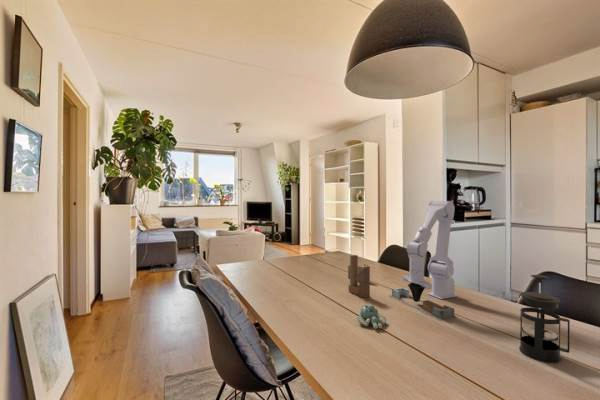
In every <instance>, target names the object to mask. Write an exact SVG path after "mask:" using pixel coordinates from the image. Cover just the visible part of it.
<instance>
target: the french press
mask: <svg viewBox="0 0 600 400" xmlns="http://www.w3.org/2000/svg"><path fill="white" fill-rule="evenodd" d="M530 277H531V278H533V279H537V283H538V292H537V291H535V292H534V291H523V292H520V296H521V297H522V298H523V301H524V303H525V304H526V305H528V306H530V307H522V308H520V324H519V325H520V330H519V331H520V336H519V337H520V338H519V339H520V344H519V345H520V346H519V347H518V348H519V352H521V353H522V354H523V355H524V356H526V357H528V358H530V359H532V360H534V361H538V362H542V363H547V364H558V363H560V362H561V361H562V357H561V352H564V353H570V338H571V337H570V331H571V330H570V319H569V318H566V317H565V318H564V317H561V316H560V315H559V314H557V313H555V312H553V311H550V310H556V309H559V303H561V299H560V298H558V297H556V296H554V295H552V294H547V293H542V291H541V288H542V287H541V286H542V285H541V284H542V283H543V280H549V279H550V277H548V276H546V275H542V274H531V275H530ZM527 313H535V314H536V316H534V315H533V316H532V315H530V314H527ZM545 316H549V317H552V318H553V319H549V318H548V319H547V318H545ZM523 318H524V319H526V320H529V321H531V322H534V325H525V326H523ZM561 322H565V323H567V348H563V347H561ZM545 325H554V326H555V325H558V334H557V333H556V332H554V331H552V330H550V329H547V328H545ZM523 334H525V335H523ZM556 341H558V343H556Z"/></svg>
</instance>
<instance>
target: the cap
mask: <svg viewBox="0 0 600 400" xmlns="http://www.w3.org/2000/svg"><path fill="white" fill-rule="evenodd" d="M391 295H392V296H394V297H396V298H398V299H400V298H401V296H404V297H406V298H410V297H409V295H410V289H408V288H406V287H403V286H402V287H398V288H391Z"/></svg>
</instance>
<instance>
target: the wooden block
mask: <svg viewBox="0 0 600 400" xmlns="http://www.w3.org/2000/svg"><path fill="white" fill-rule="evenodd" d="M349 257H350V258H349V259H350V260H349V262H350V263H349V265H350V279H349V280H350V281H349V283H350V284H348V292H349V293H351V294H354V295H356V296H358V297H362V298H363V299H365V298H370V295H371V294H370V293H371V289H370V287H371V286H370V283H371V282H370V281H371V277H370V276H371V275H370V274H371V271H370V270H371V269H370V268H371V267H370V265H368V266H367V267H364V266H363V267H364V268H363V269H362V270H361V271H360V272H359V274H358V266H359V261H358V260H359V257H358V254H350V255H349ZM358 280H359V281H358Z"/></svg>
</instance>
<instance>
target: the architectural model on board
mask: <svg viewBox="0 0 600 400" xmlns="http://www.w3.org/2000/svg"><path fill="white" fill-rule="evenodd" d="M368 266H369V264H366V263H364V265H363V266H359V265H358V274H359V272H360V271H361V270H362V269H363V268H364V267H368ZM347 279H349V280H350V264H349V265H348V266H347ZM358 282H359V280H358Z"/></svg>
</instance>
